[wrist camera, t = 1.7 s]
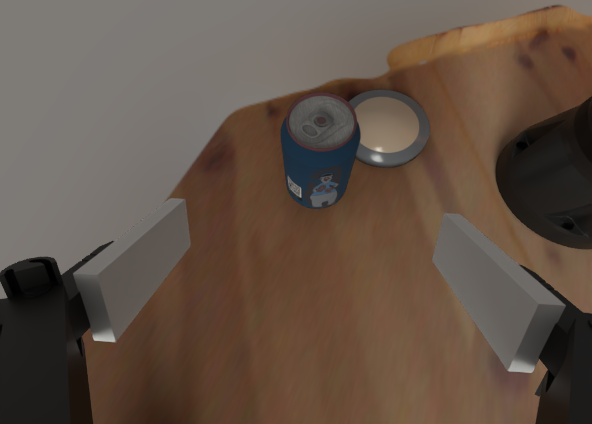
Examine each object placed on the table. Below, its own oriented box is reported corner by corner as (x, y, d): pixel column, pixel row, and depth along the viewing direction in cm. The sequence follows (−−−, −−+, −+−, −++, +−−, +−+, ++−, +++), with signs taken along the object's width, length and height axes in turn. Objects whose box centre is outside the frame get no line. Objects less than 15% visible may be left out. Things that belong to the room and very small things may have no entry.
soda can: (316, 150, 36) (321, 73, 25) (357, 186, 35) (383, 119, 23) (274, 185, 35) (261, 118, 24) (315, 225, 33) (321, 172, 22)
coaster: (408, 90, 40) (412, 82, 38) (439, 158, 36) (443, 152, 34) (329, 104, 39) (330, 97, 38) (351, 175, 35) (353, 169, 34)
